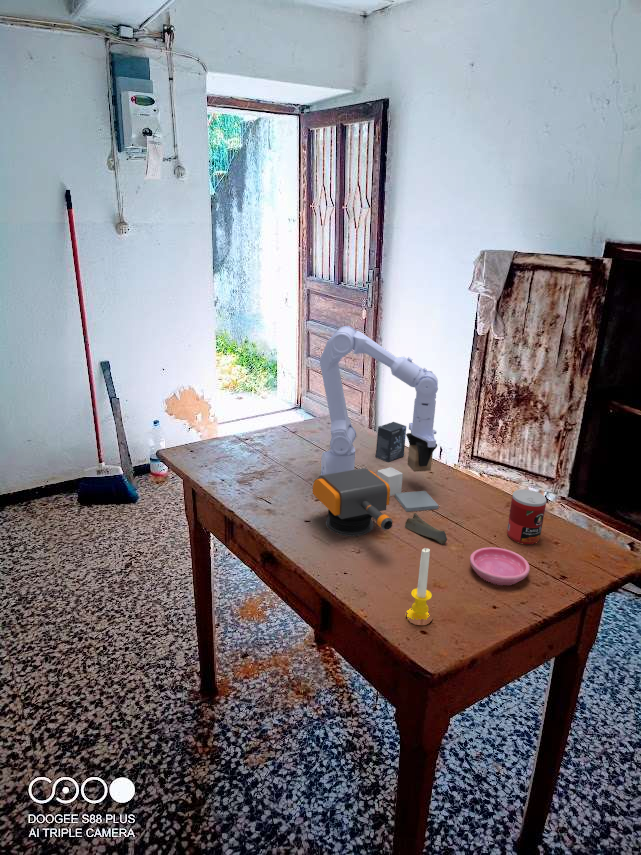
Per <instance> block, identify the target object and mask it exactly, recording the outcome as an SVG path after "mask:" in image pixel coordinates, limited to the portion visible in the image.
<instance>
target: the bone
mask: <svg viewBox="0 0 641 855" xmlns="http://www.w3.org/2000/svg"><path fill="white" fill-rule="evenodd" d="M404 527H405V528H406V530H409V531H411V532H414V533H415V534H417V535H421V536H423V537H426V538H430V539H433V540H435V541H436V542H438V543H439V544H440V545H445V544H446V543H447V540H448V537H447V534H446V532H445V530H440V529H437V528H436V527H434V526H431V525H430V524H429V523H427V522H426V521H424V520H423V519H422V518H421V517H420V516H419V515H418V514H417V513H414V514H413V516H412V518H411V517H408V518H407V519H406V521H405V524H404Z"/></svg>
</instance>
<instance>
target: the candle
mask: <svg viewBox="0 0 641 855" xmlns="http://www.w3.org/2000/svg"><path fill="white" fill-rule="evenodd" d="M430 552H431V549H430V548H427V547H424V548H422V549H421V553H420V559H419V560H420V561H419V570H418V577H417V578H418V581H417V587H415V588H413V589H412V591H411V592H410V594H411V597H413V599H414V602H413V603H412V604H411V608H409V610H408V609H407V610H406V612H407V613H408V614H407V617H409V618H411V619H413V620H414V618H415V619H416V620H418V619H420V620H421V619H424V620H425V619H426V620H427V618H428V617H429V616H430V615H429V613H428V611H429V610H430V609H429V605H428V602H427V601H429V600H431V599H432V596H433V594H432V592H431V591H430V590H428V589H427V588H428V577H429V576H428V575H429V565H430V554H431V553H430ZM411 609H412V610H411ZM428 615H429V616H428ZM412 617H413V618H412ZM409 618H408V619H409ZM417 618H418V619H417Z"/></svg>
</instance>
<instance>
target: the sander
mask: <svg viewBox="0 0 641 855" xmlns="http://www.w3.org/2000/svg"><path fill="white" fill-rule="evenodd" d="M312 494H313V495H314V497H316V498H317V499H318V501H320V502H321V504H322V505H324V506H325V507H326V509H327V515H328V516H327V517H326V521H325V525H326V528H327V527H328V528H329V529H330V530H331V532H332V531H333V532H332V533H334V532H335V533H334V534H336V533H337V534H336V535H339V534H340V536H344V535H345V536H344V537H359V536H364V535H367V534H369V533H371V532H372V530H373V529H374V525H375V524H374V520H375V522H376V524H377V526H379V527H380V529H382V530H384V531H387V530H390V529H391V528H392V526H393V519H392V518H391V517H389V515H388V514H385V513H382V512H383V511H386V510H387V506H390V497H391V496H390V487H389V484H388V483H386V482H385V481H384V480H382V479H381V478H380V477H379V476H377V474H376V473H375V472H374V471H373V470H370V469H368V468H365V467H363V468H357V469H354V470H350V471H344V472H338V473H332V474H326V475H319V476H318V478H317V479H315V480H314V482H313V484H312ZM372 518H373V519H374V520H373V519H372ZM328 528H327V529H328ZM329 529H328V530H329ZM330 530H329V531H330Z"/></svg>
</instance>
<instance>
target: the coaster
mask: <svg viewBox="0 0 641 855" xmlns="http://www.w3.org/2000/svg"><path fill="white" fill-rule="evenodd" d="M394 497H395V499H396V500H397V502H399V504H400V506H402V508H403V509H404V510H405V512H406V513H408V512H418V511H428V510H438V509H439V504H438V503H437V502H436V501H435V500H434V499H433V498H432V496H431V495H430V494H429V493H428V492H427V491H426V490H421V491H406V492H401V493H395V495H394Z"/></svg>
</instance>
